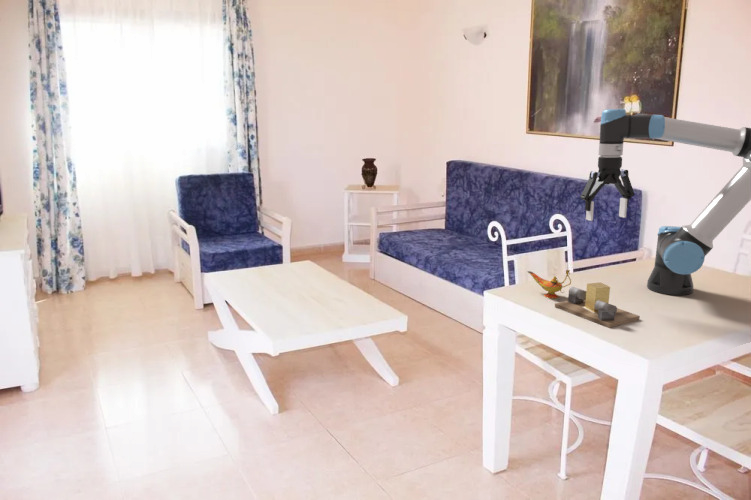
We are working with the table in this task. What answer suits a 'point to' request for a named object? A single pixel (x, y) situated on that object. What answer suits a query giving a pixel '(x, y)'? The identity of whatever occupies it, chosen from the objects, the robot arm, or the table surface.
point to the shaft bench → (593, 317)
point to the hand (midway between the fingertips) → (606, 218)
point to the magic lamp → (550, 284)
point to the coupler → (596, 295)
